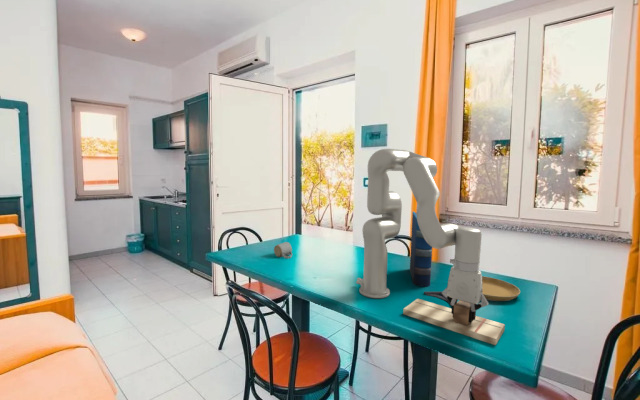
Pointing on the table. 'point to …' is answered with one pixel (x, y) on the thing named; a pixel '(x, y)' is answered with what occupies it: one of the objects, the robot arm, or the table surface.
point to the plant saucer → (498, 289)
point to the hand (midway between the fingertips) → (463, 318)
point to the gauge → (461, 312)
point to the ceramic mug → (283, 250)
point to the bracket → (437, 295)
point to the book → (420, 256)
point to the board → (444, 318)
